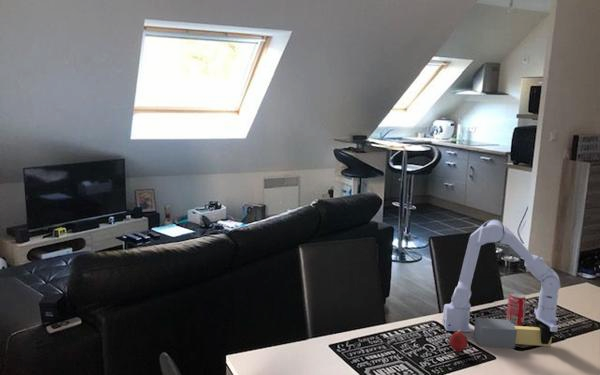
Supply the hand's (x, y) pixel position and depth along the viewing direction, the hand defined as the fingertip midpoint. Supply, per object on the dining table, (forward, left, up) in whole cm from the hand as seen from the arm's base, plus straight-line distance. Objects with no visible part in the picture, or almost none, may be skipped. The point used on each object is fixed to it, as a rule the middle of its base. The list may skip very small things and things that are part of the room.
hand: (542, 341), depth 171 cm
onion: (-32, -9, -2) cm, 33 cm away
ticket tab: (-6, 0, -1) cm, 6 cm away
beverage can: (-4, +16, -2) cm, 17 cm away
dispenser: (-17, 0, -1) cm, 17 cm away
